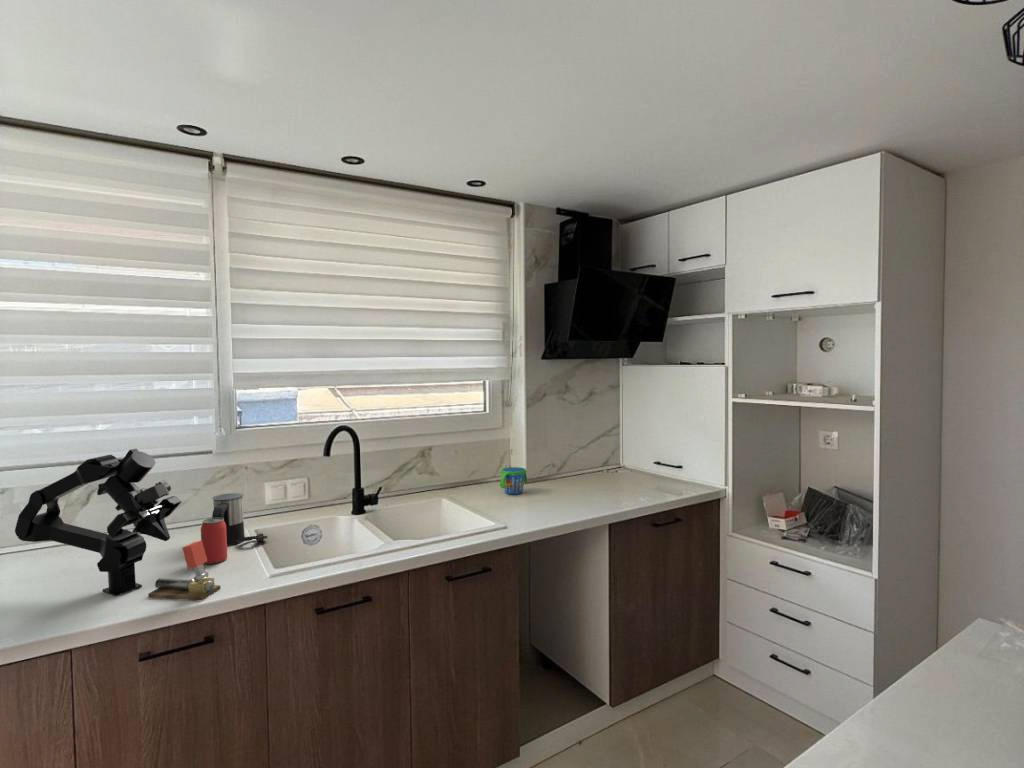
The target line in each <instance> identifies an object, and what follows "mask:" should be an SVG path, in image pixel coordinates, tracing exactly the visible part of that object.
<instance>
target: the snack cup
mask: <svg viewBox="0 0 1024 768" xmlns="http://www.w3.org/2000/svg"><path fill="white" fill-rule="evenodd" d="M500 473H501V475H500V480H499V487H500V488H501V489H504V492H505V493H506V494H507V495H513V496H514V495H520V494H522V493H523V492H524V487H525V483H527V482H528V476H527V469H526V468H524V467H518V466H517V467H516V466H515V467H514V466H513V467H512V466H511V467H504V468H502V469H501V470H500Z"/></svg>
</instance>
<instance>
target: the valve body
mask: <svg viewBox="0 0 1024 768" xmlns="http://www.w3.org/2000/svg"><path fill="white" fill-rule="evenodd" d="M214 585H215V578H214V577H206V578H205V579H203V580H201V581H199V582H195V581H194V578H191V579H179V578H164V577H163V578H162V577H160V578H158V579H156V581H155V583H154V586H155V588H156V589H158V588H161V589H179V590H188V591H189V593H193V594H205V593H206V592H208V591H212V589H213V588H215V587H214Z"/></svg>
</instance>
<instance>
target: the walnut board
mask: <svg viewBox="0 0 1024 768" xmlns="http://www.w3.org/2000/svg"><path fill="white" fill-rule="evenodd" d="M214 587H215V588H213V589H212V591H208V592H206V593H205V594H193V593H189V591H188V590H179V589H161V588H156V589H155V590H153V591H151V592H148V593H147V595H148V596H147V597H148V599H163V598H165V600H179V599H188V600H187V601H196V600H202V601H204V600H205V599H207V598H208V596H209V595H210V596H211V594H212V595H214V592H215V593H216V592H218V591H220V590H221V584H220V585H219V584H214ZM219 589H220V590H219ZM217 590H218V591H217ZM210 596H209V597H210ZM206 597H207V598H206ZM203 599H204V600H203Z"/></svg>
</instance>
